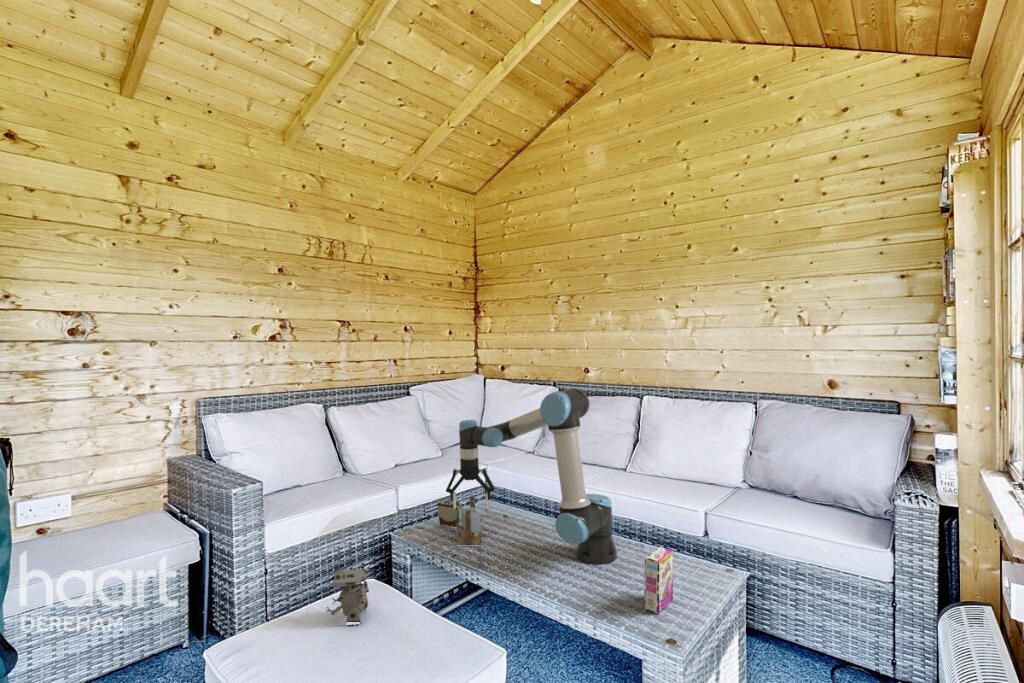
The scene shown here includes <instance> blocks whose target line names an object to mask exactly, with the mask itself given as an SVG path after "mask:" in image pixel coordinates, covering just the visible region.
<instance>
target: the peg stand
mask: <svg viewBox="0 0 1024 683" xmlns="http://www.w3.org/2000/svg"><path fill="white" fill-rule="evenodd" d="M469 507H474V509H475V510H476V496H475V495H470V496H469ZM465 522H466V530H465V528H464V526H463V525H462V528H461V530H460V533H459V534H460V535H459V537H458V541H457V544H456V546H457V545H480V546H481V543H480V541H481V542H482V538H481V536H482V537H483V533H482V532H484V528H483V527H485V526H484V524H481V532H474V533H471V510H466V512H465Z"/></svg>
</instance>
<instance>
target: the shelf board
mask: <svg viewBox="0 0 1024 683" xmlns="http://www.w3.org/2000/svg"><path fill="white" fill-rule="evenodd" d="M466 510H471V533H474V532H481V525H482V524H481V523H482V520H481V519H482V516H481V515H480V514H479V513H478V512H477V510H476V508H475V509H474V507H470V506H469V507H463V508H462V507H461V509H460V523H461V525H462V527H463V526H464V528H465V530H466V522H465V512H466Z"/></svg>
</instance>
